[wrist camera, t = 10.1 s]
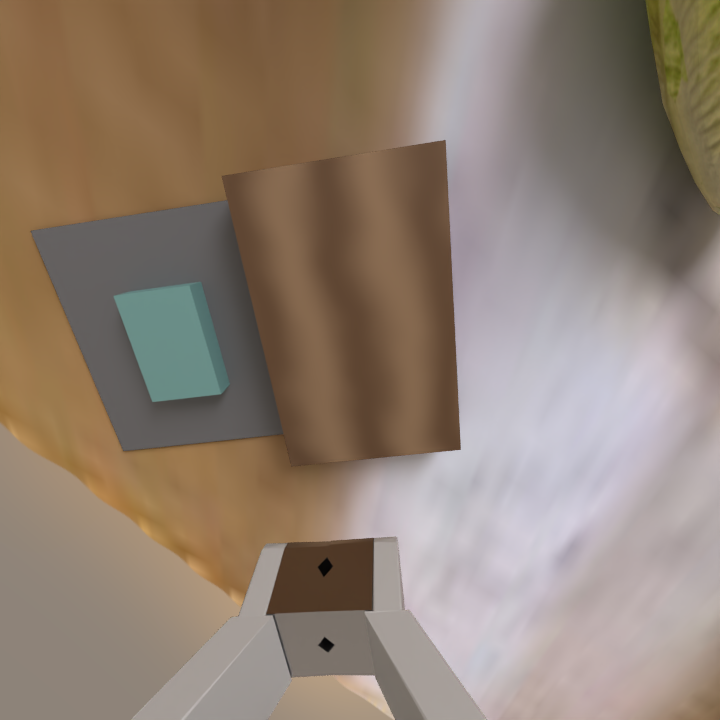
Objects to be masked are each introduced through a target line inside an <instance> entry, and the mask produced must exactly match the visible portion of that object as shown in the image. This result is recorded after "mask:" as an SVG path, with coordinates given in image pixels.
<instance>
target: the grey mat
mask: <svg viewBox="0 0 720 720" xmlns="http://www.w3.org/2000/svg"><path fill="white" fill-rule="evenodd" d="M31 233H32V235H33V238H34V240H35V242H36V245H37V247H38V250H39V252H40V254H41V257H42V259H43V261H44V264H45V266H46V269H47V271H48V273H49V276H50V278H51V280H52V283H53V285H54V288H55V290H56V292H57V295H58V297H59V299H60V302H61V304H62V306H63V309H64V311H65V314H66V316H67V318H68V321H69V323H70V325H71V328H72V330H73V333H74V335H75V337H76V340H77V342H78V344H79V347H80V349H81V352H82V354H83V356H84V359H85V361H86V363H87V366H88V368H89V370H90V373H91V375H92V378H93V380H94V382H95V385H96V387H97V389H98V392H99V394H100V397H101V399H102V401H103V404H104V406H105V408H106V411H107V413H108V416H109V418H110V420H111V423H112V425H113V427H114V430H115V432H116V434H117V437H118V439H119V442H120V444H121V446H122V449H123V451H128V450H138V449H147V448H157V447H166V446H175V445H185V444H194V443H204V442H213V441H222V440H232V439H241V438H251V437H260V436H269V435H279V434H284V433H283V429H282V425H281V421H280V417H279V413H278V409H277V404H276V400H275V396H274V392H273V388H272V384H271V379H270V375H269V371H268V367H267V363H266V359H265V354H264V350H263V346H262V342H261V338H260V334H259V330H258V325H257V321H256V317H255V313H254V309H253V305H252V300H251V296H250V292H249V288H248V284H247V280H246V275H245V271H244V267H243V263H242V259H241V255H240V250H239V246H238V242H237V238H236V234H235V230H234V226H233V221H232V217H231V213H230V209H229V205H228V201H227V200H226V201H220V202H214V203H207V204H201V205H194V206H188V207H181V208H175V209H169V210H162V211H156V212H149V213H143V214H136V215H130V216H124V217H117V218H111V219H104V220H98V221H91V222H85V223H78V224H72V225H66V226H59V227H53V228H46V229H40V230H33V231H31ZM195 282H201V283H202V287H203V290H204V294H205V297H206V301H207V305H208V308H209V312H210V315H211V319H212V322H213V326H214V329H215V333H216V336H217V340H218V344H219V347H220V351H221V354H222V358H223V361H224V365H225V368H226V372H227V375H228V379H229V383H230V385H229V386H228V387H227V388H226V389H225V391H224V392H223V393H222V394H219V395H210V396H201V397H192V398H184V399H175V400H166V401H158V402H152V399H151V397H150V394H149V391H148V389H147V386H146V383H145V380H144V378H143V375H142V372H141V370H140V367H139V364H138V361H137V359H136V356H135V353H134V351H133V348H132V345H131V342H130V340H129V337H128V334H127V332H126V329H125V326H124V324H123V321H122V318H121V315H120V313H119V310H118V307H117V305H116V302H115V299H114V296H115V295H119V294H122V293H126V292H130V291H137V290H144V289H152V288H159V287H166V286H173V285H181V284H188V283H195Z"/></svg>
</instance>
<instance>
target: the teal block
mask: <svg viewBox="0 0 720 720" xmlns="http://www.w3.org/2000/svg"><path fill="white" fill-rule="evenodd" d="M114 299H115V302H116V305H117V307H118V310H119V313H120V315H121V318H122V321H123V324H124V326H125V329H126V332H127V334H128V337H129V340H130V342H131V345H132V348H133V351H134V353H135V356H136V359H137V361H138V364H139V367H140V370H141V372H142V375H143V378H144V380H145V383H146V386H147V389H148V391H149V394H150V397H151V399H152V402H158V401H166V400H175V399H184V398H192V397H201V396H210V395H219V394H222V393H223V392H224V391H225V389H226V388H227V387H228V386H229V385H230V383H229V379H228V375H227V372H226V368H225V365H224V361H223V358H222V354H221V351H220V347H219V344H218V340H217V336H216V333H215V329H214V326H213V322H212V319H211V315H210V312H209V308H208V305H207V301H206V297H205V294H204V290H203V287H202V283H201V282H195V283H188V284H181V285H173V286H166V287H159V288H152V289H144V290H137V291H130V292H126V293H122V294H119V295H115V296H114Z"/></svg>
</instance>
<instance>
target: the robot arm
mask: <svg viewBox="0 0 720 720" xmlns="http://www.w3.org/2000/svg"><path fill="white" fill-rule="evenodd" d="M323 675H375V677H376V680H377V682H378V684H379V686H380V688H381V690H382V693H383V695H384V697H385V699H386V701H387V703H388V705H389V707H390V710H391V712H392V714H393V716H394V718H395V720H487V719H486V717H485V716H484V714H483V713H482V712H481V710H480V709H479V707H478V706H477V705H476V703H475V702H474V700H473V699H472V698H471V696H470V695H469V693H468V692H467V690H466V689H465V688H464V686H463V685H462V683H461V682H460V681H459V679H458V678H457V676H456V675H455V674H454V672H453V671H452V669H451V668H450V666H449V665H448V664H447V662H446V661H445V659H444V658H443V657H442V655H441V654H440V652H439V651H438V650H437V648H436V647H435V645H434V644H433V643H432V641H431V640H430V638H429V637H428V635H427V634H426V633H425V631H424V630H423V628H422V627H421V626H420V624H419V623H418V621H417V620H416V619H415V617H414V616H413V614H412V613H411V611H410V610H405V605H404V594H403V585H402V575H401V566H400V557H399V547H398V539H397V537H383V538H375V539H374V538H366V539H351V540H336V541H330V542H294V543H273V544H266V545H265V546H264V548H263V549H262V551H261V553H260V556H259V559H258V562H257V565H256V567H255V570H254V573H253V576H252V579H251V582H250V584H249V587H248V590H247V593H246V596H245V598H244V601H243V604H242V607H241V610H240V612H239V615H238V616H236V617H231V618H230V619H229V620H228V621H227V622H226V623H225V624H224V625H223V626H222V627H221V628H220V629H219V630H218V631H217V632H216V633H215V634H214V635H213V636H212V637H211V638H210V639H209V640H208V641H207V642H206V643H205V644H204V645H203V646H202V647H201V648H200V649H199V650H198V652H196V653H195V654H194V656H193V657H192V658H191V659H190V660H189V661H188V662H187V663H186V664H185V665H184V666H183V667H182V668H181V669H180V670H179V671H178V672H177V673H176V674H175V675H174V676H173V677H172V678H171V679H170V680H169V681H168V682H167V683H166V684H165V685H164V686H163V687H162V688H161V690H160V691H158V693H157V694H155V696H154V697H153V698H152V699H151V700H150V701H149V702H148V703H147V704H146V705H145V706H144V707H143V708H142V709H141V710H140V711H139V712H138V713H137V714H136V715H135V716H134V717H133V718H132V719H131V720H268V718H269V717H270V715H271V714H272V712H273V710H274V709H275V707H276V705H277V704H278V702H279V700H280V699H281V697H282V696H283V694H284V692H285V691H286V689H287V688H288V686H289V684H290V683H291V681H292V680H291V677H307V676H323Z"/></svg>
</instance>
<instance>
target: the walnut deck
mask: <svg viewBox="0 0 720 720" xmlns="http://www.w3.org/2000/svg"><path fill="white" fill-rule="evenodd" d="M222 180H223V184H224V188H225V192H226V196H227V201H228V205H229V209H230V213H231V217H232V221H233V226H234V230H235V234H236V238H237V242H238V246H239V250H240V255H241V259H242V263H243V267H244V271H245V275H246V280H247V284H248V288H249V292H250V296H251V300H252V305H253V309H254V313H255V317H256V321H257V325H258V330H259V334H260V338H261V342H262V346H263V350H264V354H265V359H266V363H267V367H268V371H269V375H270V379H271V384H272V388H273V392H274V396H275V400H276V404H277V409H278V413H279V417H280V421H281V425H282V429H283V433H284V438H285V442H286V446H287V450H288V454H289V458H290V463H291V466H301V465H311V464H321V463H331V462H341V461H351V460H361V459H371V458H381V457H391V456H401V455H411V454H422V453H432V452H442V451H452V450H461V446H460V426H459V405H458V385H457V365H456V344H455V324H454V304H453V283H452V263H451V242H450V222H449V202H448V181H447V161H446V141H445V140H443V141H437V142H431V143H425V144H418V145H412V146H406V147H400V148H393V149H387V150H381V151H375V152H369V153H362V154H356V155H350V156H344V157H337V158H331V159H325V160H319V161H313V162H306V163H300V164H294V165H288V166H281V167H275V168H269V169H263V170H257V171H250V172H244V173H238V174H232V175H225V176H222Z"/></svg>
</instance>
